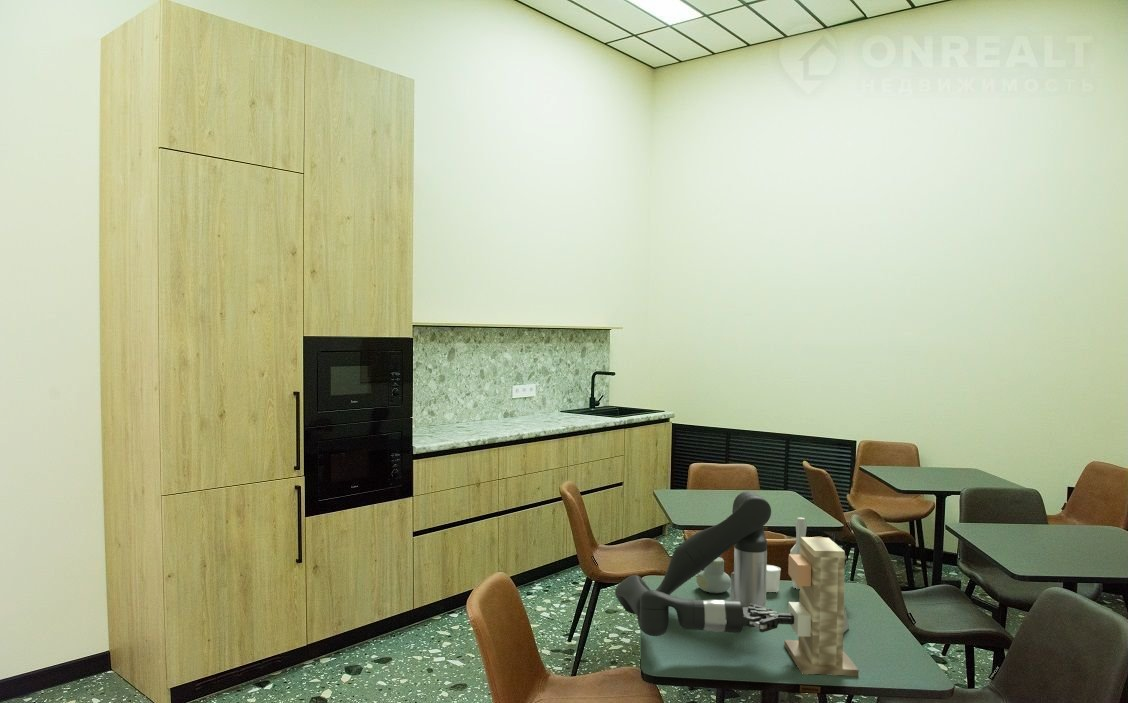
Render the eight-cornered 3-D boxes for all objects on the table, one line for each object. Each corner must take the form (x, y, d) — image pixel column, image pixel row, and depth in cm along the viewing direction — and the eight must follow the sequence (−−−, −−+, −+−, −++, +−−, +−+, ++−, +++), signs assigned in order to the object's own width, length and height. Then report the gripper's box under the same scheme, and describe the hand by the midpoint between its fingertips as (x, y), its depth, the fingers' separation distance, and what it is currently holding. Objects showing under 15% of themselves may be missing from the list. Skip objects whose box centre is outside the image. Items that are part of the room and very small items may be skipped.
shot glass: (768, 594, 224) (768, 572, 224) (753, 588, 230) (753, 565, 230) (785, 591, 227) (785, 569, 227) (769, 584, 234) (769, 563, 233)
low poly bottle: (786, 584, 234) (787, 515, 234) (805, 583, 235) (806, 515, 235) (794, 591, 228) (795, 520, 228) (813, 590, 229) (815, 520, 228)
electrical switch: (838, 639, 191) (835, 603, 192) (818, 635, 195) (816, 600, 195) (850, 628, 199) (847, 594, 199) (830, 625, 202) (828, 591, 202)
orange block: (821, 575, 182) (821, 555, 182) (832, 587, 173) (833, 566, 173) (788, 574, 183) (788, 554, 183) (798, 586, 174) (798, 565, 174)
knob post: (836, 647, 186) (838, 535, 186) (858, 676, 170) (860, 554, 170) (784, 645, 187) (786, 534, 186) (801, 674, 171) (804, 552, 170)
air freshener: (693, 586, 231) (693, 554, 231) (716, 583, 234) (717, 552, 234) (710, 597, 221) (711, 565, 221) (734, 595, 224) (735, 562, 223)
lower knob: (820, 622, 183) (821, 602, 183) (832, 637, 174) (832, 616, 174) (788, 621, 183) (788, 601, 183) (797, 636, 174) (798, 615, 174)
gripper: (717, 620, 186) (786, 623, 185) (725, 642, 173) (800, 645, 172) (717, 591, 186) (787, 594, 185) (726, 610, 173) (801, 613, 172)
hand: (793, 619), depth 178 cm, fingers closed
